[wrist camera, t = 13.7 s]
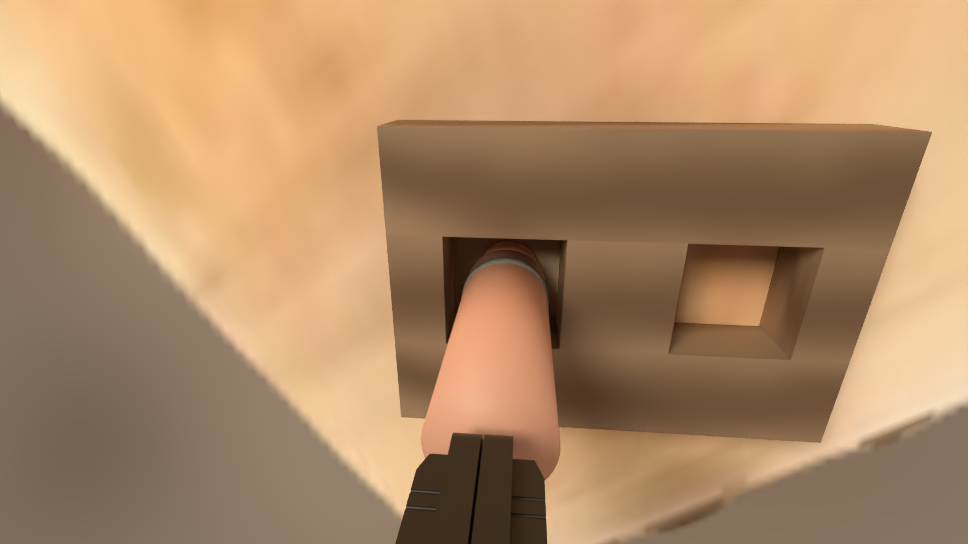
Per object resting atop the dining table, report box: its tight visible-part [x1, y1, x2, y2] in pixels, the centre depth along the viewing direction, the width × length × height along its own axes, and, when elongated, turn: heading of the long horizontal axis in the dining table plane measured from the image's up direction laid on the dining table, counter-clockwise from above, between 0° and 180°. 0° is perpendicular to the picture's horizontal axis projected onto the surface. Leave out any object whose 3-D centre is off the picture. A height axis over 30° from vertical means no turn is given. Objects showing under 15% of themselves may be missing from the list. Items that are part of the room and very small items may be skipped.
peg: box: [421, 241, 560, 481], centre depth 17 cm, size 4×4×12 cm
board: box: [377, 120, 932, 443], centre depth 21 cm, size 14×20×3 cm
